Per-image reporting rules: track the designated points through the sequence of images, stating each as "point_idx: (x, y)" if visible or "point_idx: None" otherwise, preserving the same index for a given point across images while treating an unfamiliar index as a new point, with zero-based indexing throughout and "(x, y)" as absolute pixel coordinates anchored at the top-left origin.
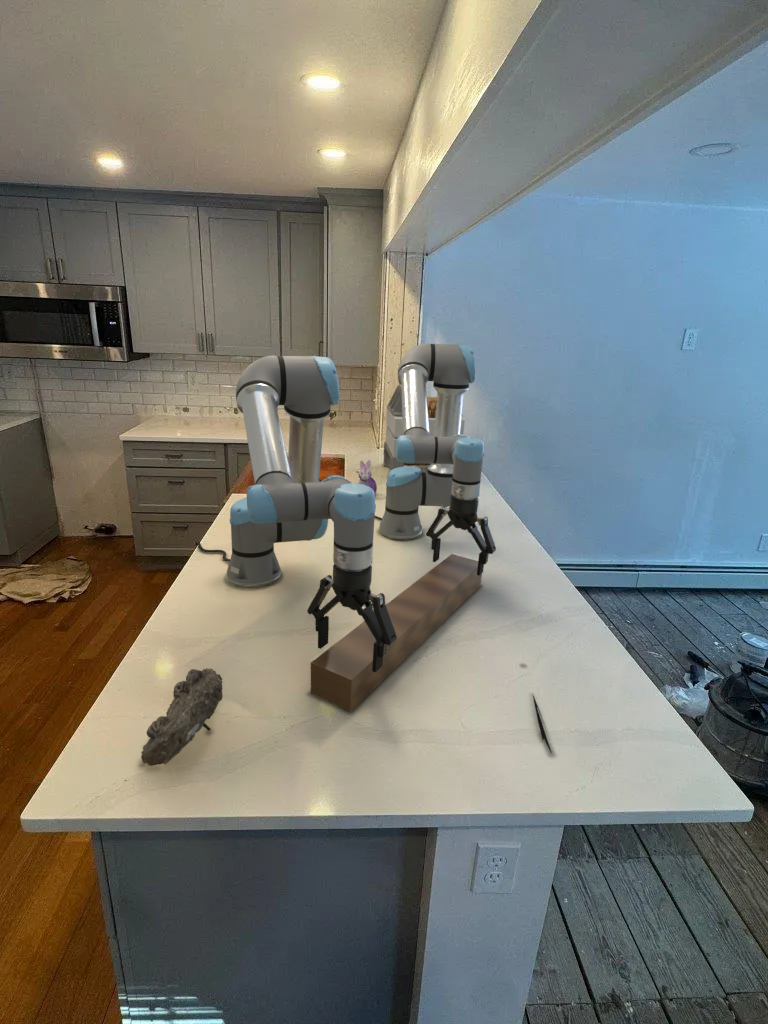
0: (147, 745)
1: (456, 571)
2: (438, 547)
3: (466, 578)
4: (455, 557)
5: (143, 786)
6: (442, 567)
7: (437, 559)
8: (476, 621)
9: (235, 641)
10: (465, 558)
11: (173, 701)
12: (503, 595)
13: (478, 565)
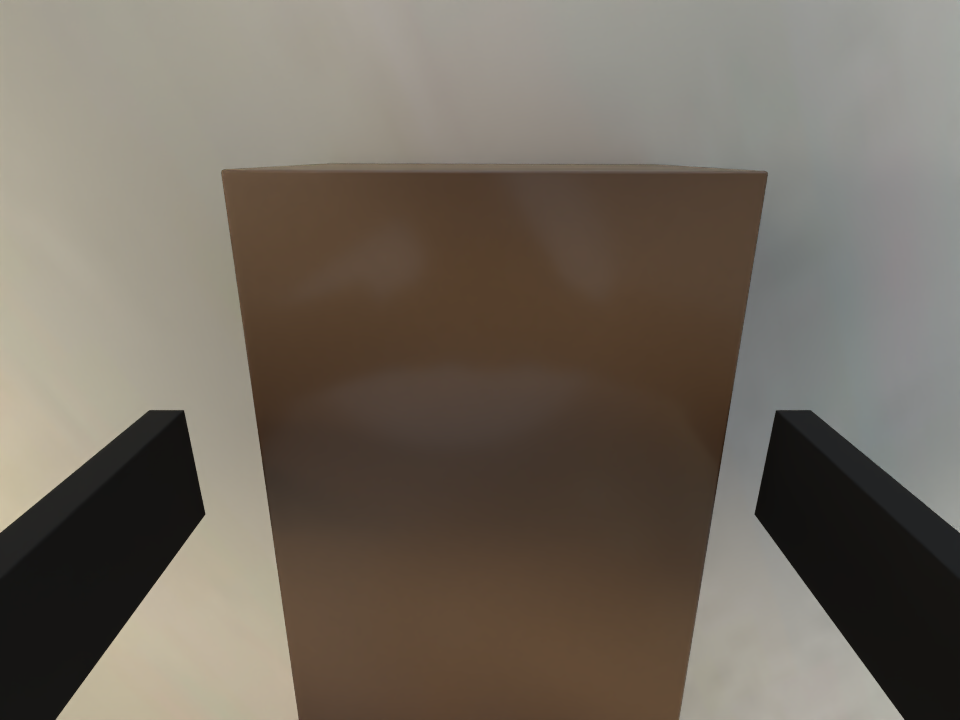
0: None
1: (538, 617)
2: (71, 591)
3: (683, 663)
4: (335, 264)
5: None
6: (361, 613)
7: (186, 463)
8: (772, 662)
9: None
10: (475, 206)
11: None
12: (895, 225)
13: (835, 613)
